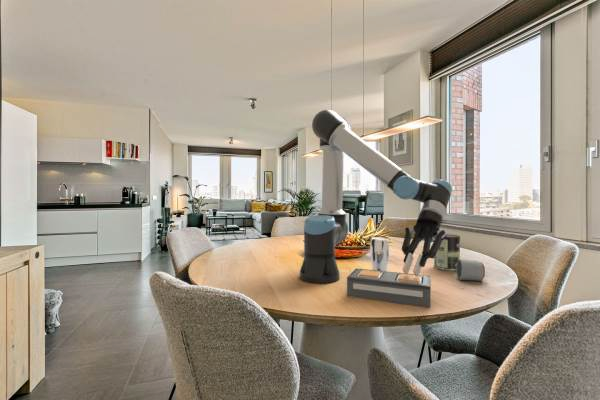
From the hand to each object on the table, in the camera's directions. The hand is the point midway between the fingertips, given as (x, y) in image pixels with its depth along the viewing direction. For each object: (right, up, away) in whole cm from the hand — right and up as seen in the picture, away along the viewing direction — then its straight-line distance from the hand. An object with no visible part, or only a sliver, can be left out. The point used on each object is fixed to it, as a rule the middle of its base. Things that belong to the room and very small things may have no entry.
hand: (410, 273), depth 94 cm
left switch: (-11, -5, +5) cm, 13 cm away
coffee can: (+30, -7, +38) cm, 49 cm away
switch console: (-6, -8, +2) cm, 10 cm away
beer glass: (-4, -7, +22) cm, 24 cm away
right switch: (0, -5, 0) cm, 5 cm away
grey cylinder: (+29, -8, +21) cm, 37 cm away
